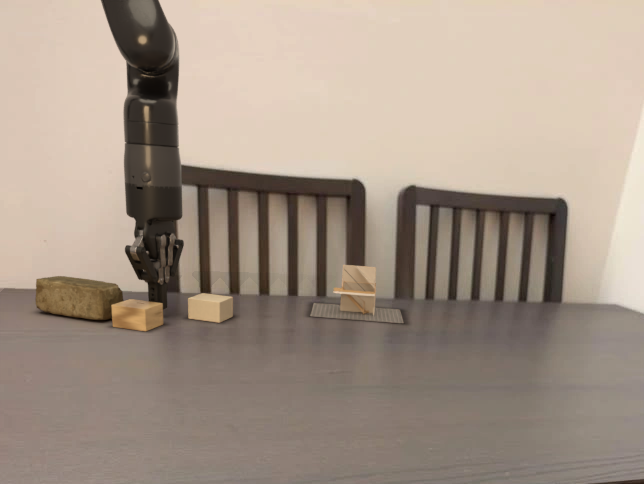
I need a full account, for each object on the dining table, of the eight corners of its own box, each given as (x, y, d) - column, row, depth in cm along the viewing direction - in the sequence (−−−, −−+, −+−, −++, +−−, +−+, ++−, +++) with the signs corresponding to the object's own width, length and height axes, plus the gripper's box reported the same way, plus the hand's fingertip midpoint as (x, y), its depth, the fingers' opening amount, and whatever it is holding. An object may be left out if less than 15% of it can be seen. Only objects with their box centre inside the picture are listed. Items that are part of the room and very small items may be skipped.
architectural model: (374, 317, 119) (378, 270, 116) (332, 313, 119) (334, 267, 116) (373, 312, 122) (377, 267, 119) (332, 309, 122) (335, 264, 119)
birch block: (112, 326, 100) (111, 304, 98) (131, 320, 104) (130, 298, 103) (146, 331, 99) (145, 309, 97) (163, 324, 103) (162, 303, 102)
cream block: (188, 318, 108) (187, 298, 106) (202, 312, 112) (202, 292, 111) (219, 322, 107) (219, 302, 106) (233, 316, 111) (233, 296, 110)
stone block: (104, 324, 101) (101, 287, 98) (32, 313, 103) (28, 277, 101) (127, 316, 106) (125, 281, 104) (58, 307, 108) (55, 272, 106)
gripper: (152, 178, 106) (157, 298, 113) (101, 179, 94) (110, 314, 101) (200, 183, 104) (201, 304, 112) (154, 185, 93) (159, 320, 100)
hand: (158, 309), depth 106 cm, fingers closed
